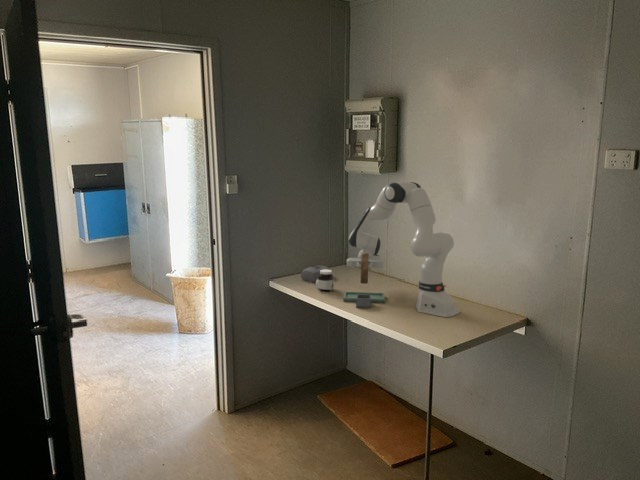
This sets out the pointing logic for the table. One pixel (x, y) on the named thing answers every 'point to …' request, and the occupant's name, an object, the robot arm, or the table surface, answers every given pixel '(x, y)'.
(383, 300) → the tray
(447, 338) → the table surface
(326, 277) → the spread jar
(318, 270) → the soft grey pack
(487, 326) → the table surface
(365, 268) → the dowel
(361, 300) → the grey square sleeve
